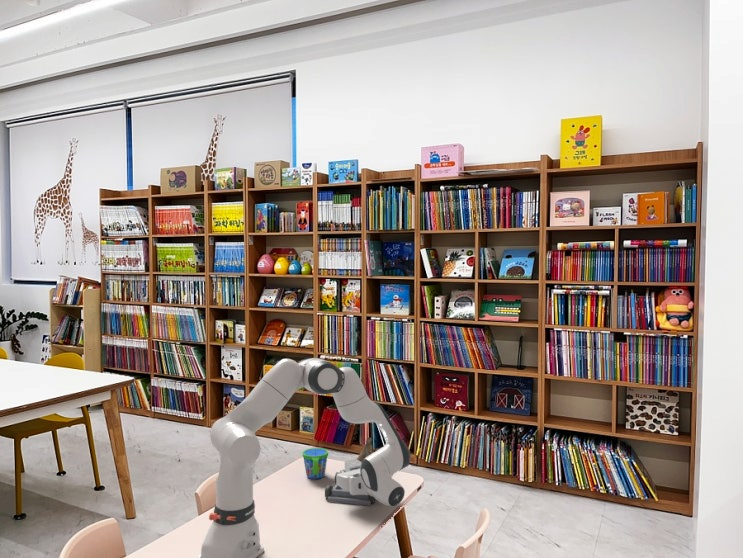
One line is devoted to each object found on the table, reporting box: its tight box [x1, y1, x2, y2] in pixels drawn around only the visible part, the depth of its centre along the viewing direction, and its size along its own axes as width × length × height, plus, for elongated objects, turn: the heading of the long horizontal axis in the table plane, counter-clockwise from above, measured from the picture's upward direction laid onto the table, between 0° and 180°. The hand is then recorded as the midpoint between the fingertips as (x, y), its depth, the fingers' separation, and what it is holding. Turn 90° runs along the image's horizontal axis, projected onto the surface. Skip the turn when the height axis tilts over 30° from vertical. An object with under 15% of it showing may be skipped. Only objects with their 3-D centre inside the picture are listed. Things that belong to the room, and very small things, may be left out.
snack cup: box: [302, 447, 329, 480], centre depth 227 cm, size 16×10×10 cm
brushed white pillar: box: [344, 458, 362, 472], centre depth 209 cm, size 5×5×11 cm
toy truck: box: [324, 471, 377, 506], centre depth 211 cm, size 20×19×4 cm
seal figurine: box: [356, 437, 373, 462], centre depth 228 cm, size 12×6×18 cm, turn 51°
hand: (352, 469), depth 210 cm, fingers open, 8 cm apart
